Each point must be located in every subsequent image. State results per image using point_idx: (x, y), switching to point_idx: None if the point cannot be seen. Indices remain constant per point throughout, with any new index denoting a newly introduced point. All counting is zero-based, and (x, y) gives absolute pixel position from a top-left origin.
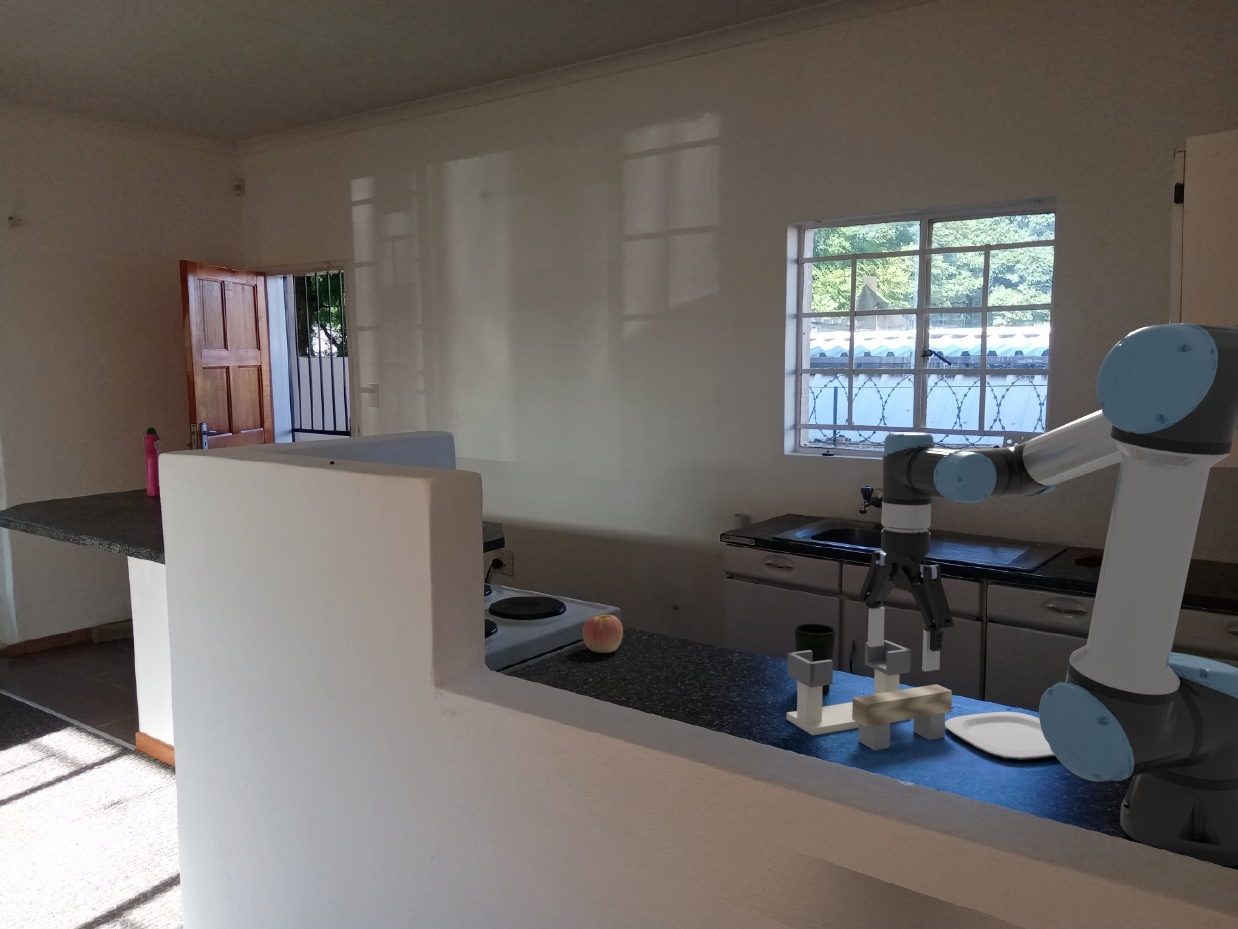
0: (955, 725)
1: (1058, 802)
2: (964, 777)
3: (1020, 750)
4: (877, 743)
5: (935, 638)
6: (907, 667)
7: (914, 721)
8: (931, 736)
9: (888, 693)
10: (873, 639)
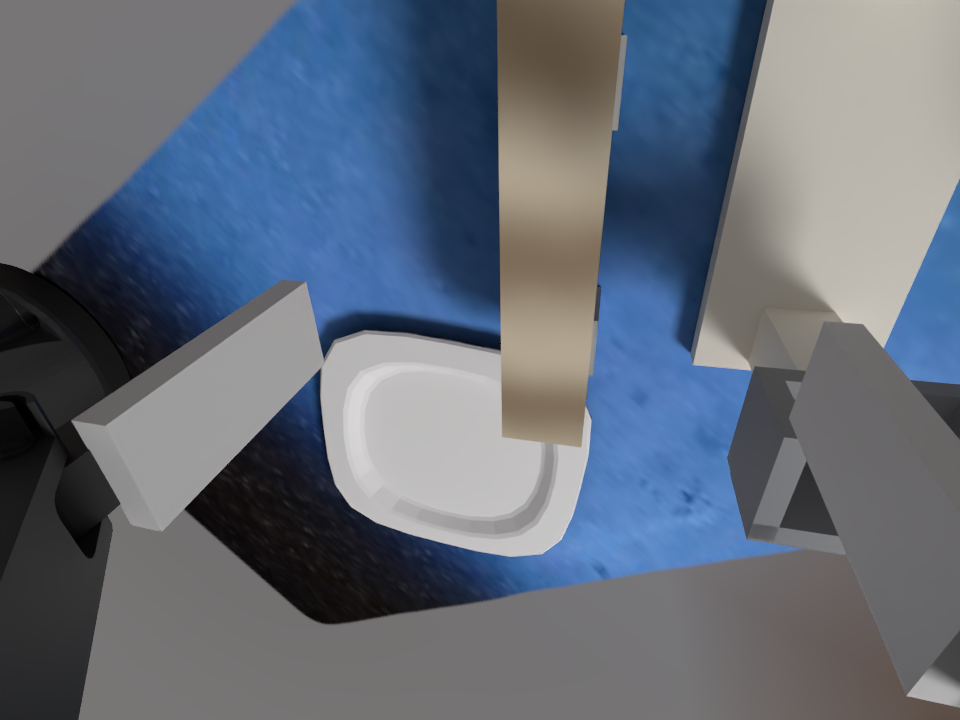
0: None
1: (156, 276)
2: (287, 182)
3: (381, 407)
4: None
5: (86, 409)
6: (734, 464)
7: (596, 301)
8: None
9: (583, 210)
10: (833, 373)
